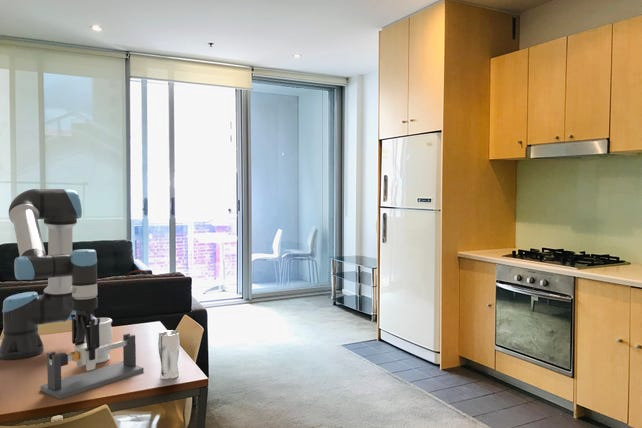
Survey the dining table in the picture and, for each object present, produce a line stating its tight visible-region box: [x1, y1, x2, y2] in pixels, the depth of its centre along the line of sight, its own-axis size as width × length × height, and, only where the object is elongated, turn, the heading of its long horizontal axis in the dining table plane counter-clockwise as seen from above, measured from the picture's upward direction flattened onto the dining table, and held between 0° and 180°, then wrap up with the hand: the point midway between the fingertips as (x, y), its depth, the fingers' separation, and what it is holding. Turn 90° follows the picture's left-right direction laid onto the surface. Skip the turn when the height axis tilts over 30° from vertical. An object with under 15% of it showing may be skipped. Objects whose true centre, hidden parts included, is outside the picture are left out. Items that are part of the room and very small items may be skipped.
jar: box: [84, 317, 113, 364], centre depth 185 cm, size 11×10×15 cm
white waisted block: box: [157, 329, 181, 381], centre depth 168 cm, size 7×7×15 cm
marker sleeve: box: [73, 343, 97, 364], centre depth 162 cm, size 5×5×5 cm
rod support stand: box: [39, 333, 145, 400], centre depth 164 cm, size 12×29×12 cm, turn 144°
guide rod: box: [49, 339, 128, 367], centre depth 164 cm, size 3×28×3 cm, turn 144°
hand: (86, 367), depth 162 cm, fingers closed on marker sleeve, 5 cm apart
